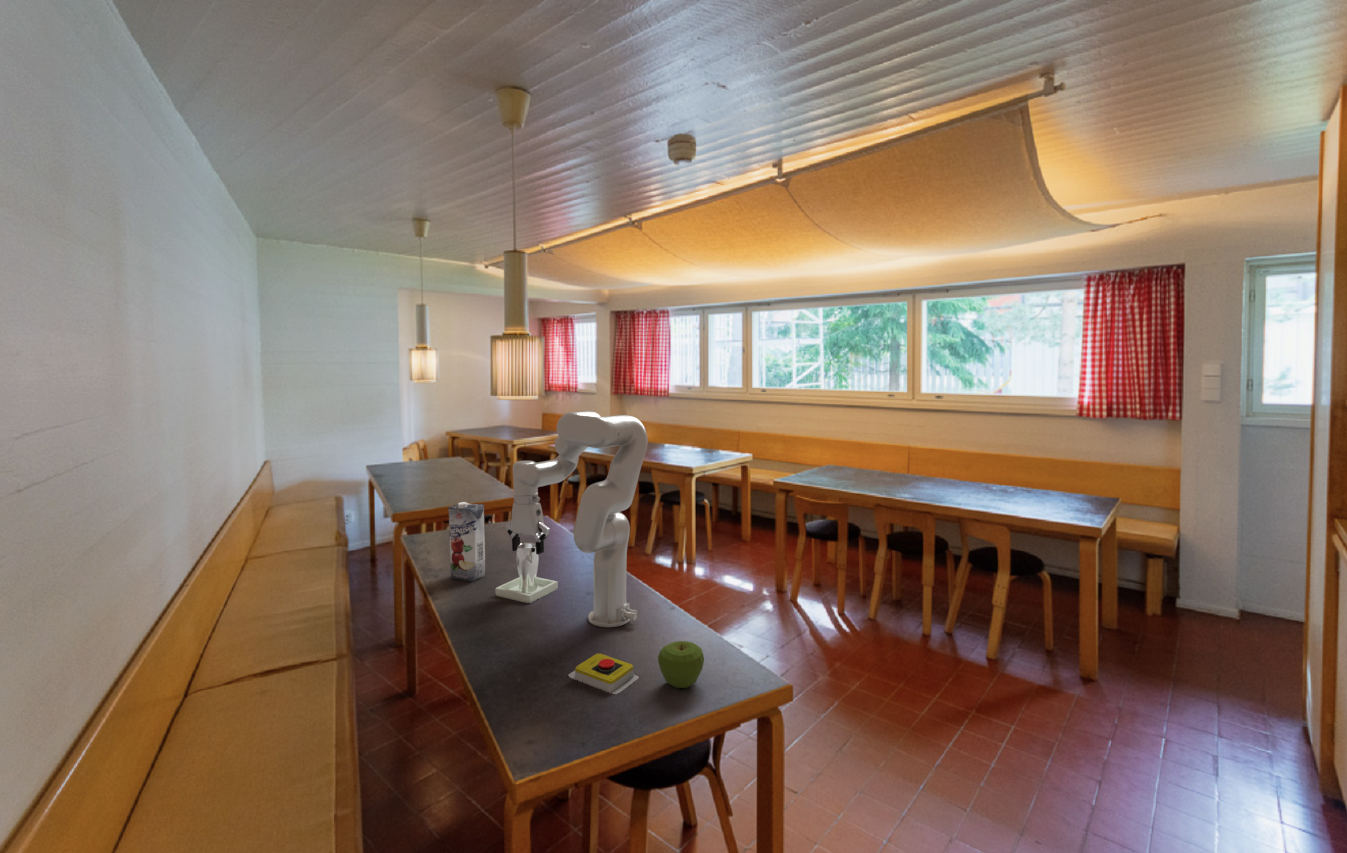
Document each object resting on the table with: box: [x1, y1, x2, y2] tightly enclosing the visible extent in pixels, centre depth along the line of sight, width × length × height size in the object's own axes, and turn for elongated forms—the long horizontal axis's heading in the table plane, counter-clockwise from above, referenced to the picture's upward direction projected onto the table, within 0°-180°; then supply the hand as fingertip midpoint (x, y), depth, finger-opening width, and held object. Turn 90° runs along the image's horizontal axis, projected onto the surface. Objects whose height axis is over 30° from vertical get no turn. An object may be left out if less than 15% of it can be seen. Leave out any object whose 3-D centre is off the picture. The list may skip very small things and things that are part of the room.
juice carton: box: [448, 501, 486, 583], centre depth 203 cm, size 9×10×27 cm
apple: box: [657, 640, 705, 689], centre depth 136 cm, size 11×10×10 cm
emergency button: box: [567, 653, 639, 695], centre depth 139 cm, size 9×4×15 cm
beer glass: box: [516, 542, 540, 594], centre depth 190 cm, size 7×7×15 cm
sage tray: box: [495, 576, 559, 604], centre depth 191 cm, size 14×14×2 cm
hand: (528, 551), depth 190 cm, fingers open, 9 cm apart
